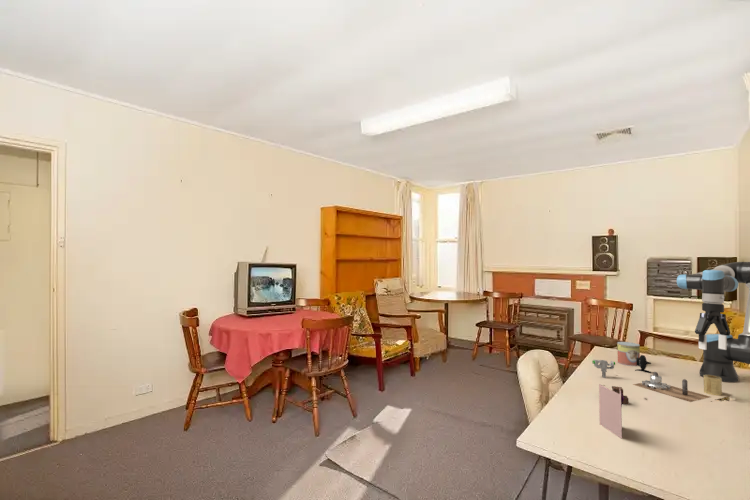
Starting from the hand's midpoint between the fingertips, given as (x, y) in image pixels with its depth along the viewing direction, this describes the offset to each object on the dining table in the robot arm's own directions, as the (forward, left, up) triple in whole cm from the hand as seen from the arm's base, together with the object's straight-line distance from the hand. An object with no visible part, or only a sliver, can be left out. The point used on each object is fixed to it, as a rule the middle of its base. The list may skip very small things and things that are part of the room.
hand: (712, 349), depth 168 cm
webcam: (-6, -34, -22) cm, 41 cm away
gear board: (+16, -9, -21) cm, 28 cm away
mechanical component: (+26, -34, -22) cm, 48 cm away
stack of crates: (+48, -13, -22) cm, 55 cm away
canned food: (-19, -50, -22) cm, 58 cm away
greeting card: (+79, +6, -22) cm, 82 cm away
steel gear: (+16, -15, -20) cm, 30 cm away
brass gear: (+1, 0, -21) cm, 21 cm away
